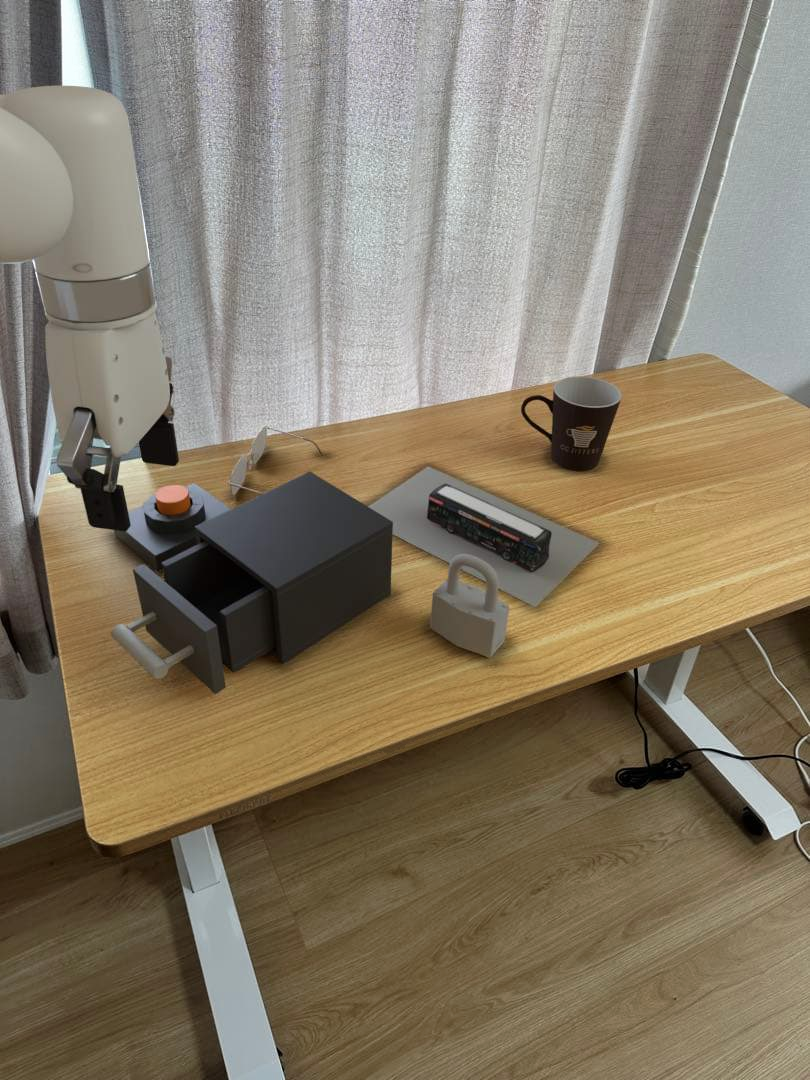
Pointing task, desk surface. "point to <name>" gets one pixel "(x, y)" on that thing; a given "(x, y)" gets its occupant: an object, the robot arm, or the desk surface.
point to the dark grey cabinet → (308, 556)
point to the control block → (168, 527)
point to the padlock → (470, 609)
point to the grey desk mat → (484, 533)
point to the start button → (172, 500)
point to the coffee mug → (579, 420)
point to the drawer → (201, 616)
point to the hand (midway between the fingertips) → (137, 493)
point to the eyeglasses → (257, 451)
